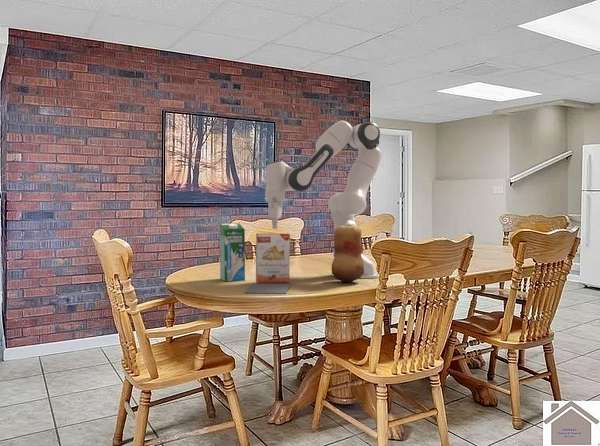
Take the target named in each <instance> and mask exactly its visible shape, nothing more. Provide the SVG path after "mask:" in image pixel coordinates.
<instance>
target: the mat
mask: <svg viewBox="0 0 600 446" xmlns="http://www.w3.org/2000/svg"><path fill="white" fill-rule="evenodd" d="M290 286H291V283H290V282H289V283H257V282H253V283H251V284H250V285H249V287H248V288H246V289H245V291H243V294H258V295H260V294H261V295H266V294H267V295H269V294H271V295H272V294H273V295H278V294H279V295H286V294H287V293H288V291H289V288H290Z"/></svg>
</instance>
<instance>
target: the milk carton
mask: <svg viewBox="0 0 600 446" xmlns="http://www.w3.org/2000/svg"><path fill="white" fill-rule="evenodd" d="M245 233H246V231H245V228H244V227H243V226H242V224H240V223H239V222H237V223H236V222H235V223H226V222H225V223H219V260H220V261H219V262H220V263H219V264H220V265H219V267H220V268H219V272H220V273H219V274H220V275H219V277H220V280H221V281H223V282H240V281H242V280H243V281H246V248H245V247H246V246H245V245H246V243H245V242H246V241H245V240H246V238H245V235H246V234H245ZM243 281H242V282H243Z"/></svg>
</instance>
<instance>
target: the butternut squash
mask: <svg viewBox="0 0 600 446" xmlns="http://www.w3.org/2000/svg"><path fill="white" fill-rule="evenodd" d="M333 239H334V240H333V243H334V245H335V257H334V256H333V260H332V261H331V262H332V263H331V274H333V275H334V276H333V277H334V278H335V279H336V280H338V281H341V282H343V283H353V282H354V281H357V280H359V279H361V278H360V277H361V276H362V275H363V274H364V263H363V259H362V256H361V251H362V247H363V245H362V230H361V228H360V226H359V225H357V224H356V225H355V224H344V225H340V226H338V227H337V228H336V230H335V229H334V238H333ZM334 245H333V246H334Z"/></svg>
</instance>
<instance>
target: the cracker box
mask: <svg viewBox="0 0 600 446" xmlns="http://www.w3.org/2000/svg"><path fill="white" fill-rule="evenodd" d="M255 238H256V242H255V244H256V245H255V283H290V265H291V263H290V261H291V259H290V257H291V256H290V255H291V254H290V253H291V252H290V251H291V234H290V233H276V232H275V233H272V232H271V233H270V232H269V233H268V232H267V233H265V232H264V233H256V234H255Z"/></svg>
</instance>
